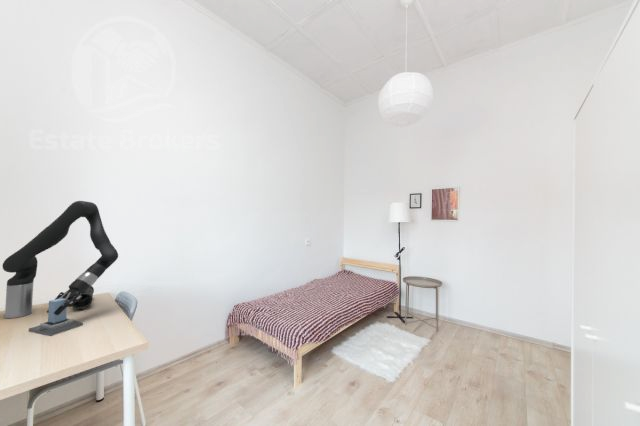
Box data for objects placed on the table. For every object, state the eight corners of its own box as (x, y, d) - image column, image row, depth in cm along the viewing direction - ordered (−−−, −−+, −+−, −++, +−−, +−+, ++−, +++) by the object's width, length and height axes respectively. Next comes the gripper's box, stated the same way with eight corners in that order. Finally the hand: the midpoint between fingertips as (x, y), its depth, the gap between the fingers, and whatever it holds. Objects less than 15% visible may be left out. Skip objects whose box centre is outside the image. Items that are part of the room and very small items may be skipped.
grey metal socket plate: (28, 331, 113) (28, 324, 113) (61, 321, 124) (62, 314, 125) (50, 336, 109) (50, 328, 109) (82, 325, 120) (83, 318, 120)
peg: (47, 321, 115) (48, 301, 116) (60, 318, 120) (61, 298, 120) (54, 323, 114) (54, 301, 114) (66, 319, 118) (67, 299, 119)
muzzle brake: (69, 313, 136) (70, 294, 136) (73, 300, 156) (74, 284, 157) (92, 309, 142) (93, 291, 143) (93, 297, 163) (94, 282, 163)
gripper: (68, 277, 127) (35, 308, 114) (87, 279, 123) (54, 311, 111) (80, 285, 131) (49, 315, 119) (99, 287, 128) (68, 318, 115)
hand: (52, 313), depth 115 cm, fingers closed on peg, 4 cm apart
